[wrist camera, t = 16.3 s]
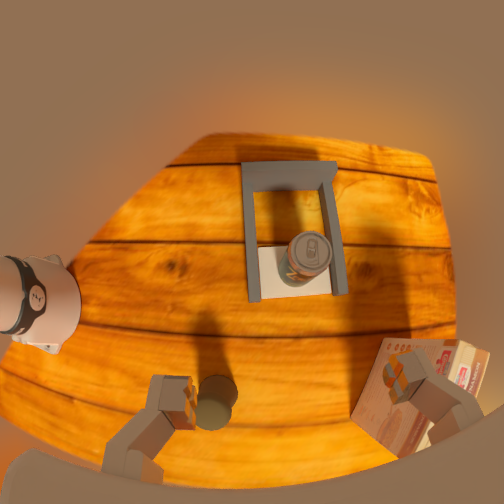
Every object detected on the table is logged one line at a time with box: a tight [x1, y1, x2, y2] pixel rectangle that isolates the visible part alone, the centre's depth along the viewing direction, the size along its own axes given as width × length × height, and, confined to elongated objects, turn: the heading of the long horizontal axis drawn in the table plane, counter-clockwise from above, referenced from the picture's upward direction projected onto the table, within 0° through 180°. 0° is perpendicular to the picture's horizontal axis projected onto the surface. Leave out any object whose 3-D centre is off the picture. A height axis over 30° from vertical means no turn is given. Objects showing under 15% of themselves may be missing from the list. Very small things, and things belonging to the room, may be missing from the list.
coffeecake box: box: [350, 338, 490, 459], centre depth 29 cm, size 15×7×20 cm, turn 157°
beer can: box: [278, 231, 332, 287], centre depth 37 cm, size 5×5×12 cm
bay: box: [241, 161, 349, 303], centre depth 41 cm, size 15×20×7 cm
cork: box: [194, 375, 238, 431], centre depth 33 cm, size 6×6×11 cm
